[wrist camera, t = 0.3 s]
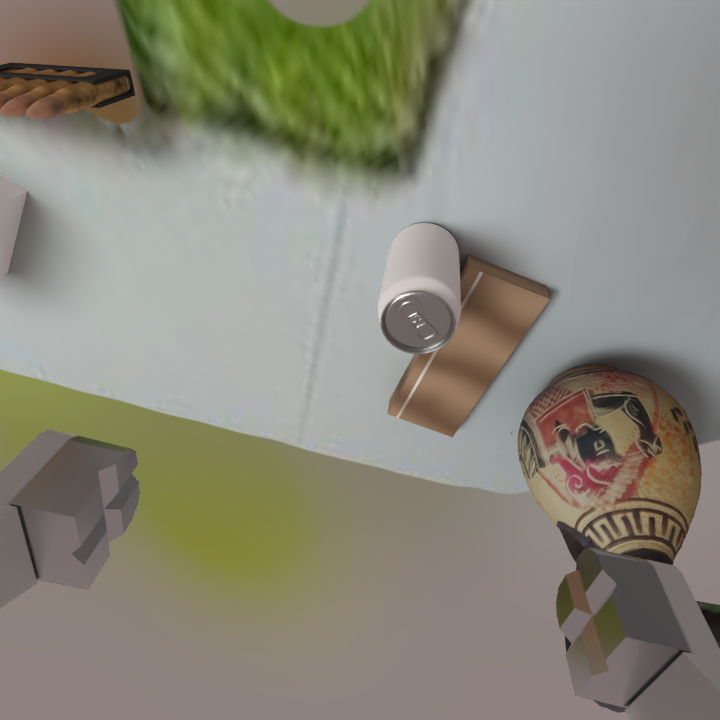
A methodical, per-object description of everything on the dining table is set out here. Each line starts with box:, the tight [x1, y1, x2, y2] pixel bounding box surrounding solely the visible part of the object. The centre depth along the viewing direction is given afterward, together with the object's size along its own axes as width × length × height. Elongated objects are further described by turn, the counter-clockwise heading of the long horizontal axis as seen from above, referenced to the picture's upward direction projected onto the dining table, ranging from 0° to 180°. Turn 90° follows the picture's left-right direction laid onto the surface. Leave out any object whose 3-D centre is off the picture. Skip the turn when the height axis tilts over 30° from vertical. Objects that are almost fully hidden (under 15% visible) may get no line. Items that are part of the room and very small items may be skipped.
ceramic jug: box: [511, 365, 720, 712], centre depth 43 cm, size 17×15×30 cm
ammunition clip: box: [0, 63, 135, 118], centre depth 37 cm, size 11×2×12 cm, turn 88°
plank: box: [388, 255, 550, 437], centre depth 52 cm, size 20×8×2 cm, turn 161°
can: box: [378, 223, 461, 354], centre depth 42 cm, size 6×6×12 cm
